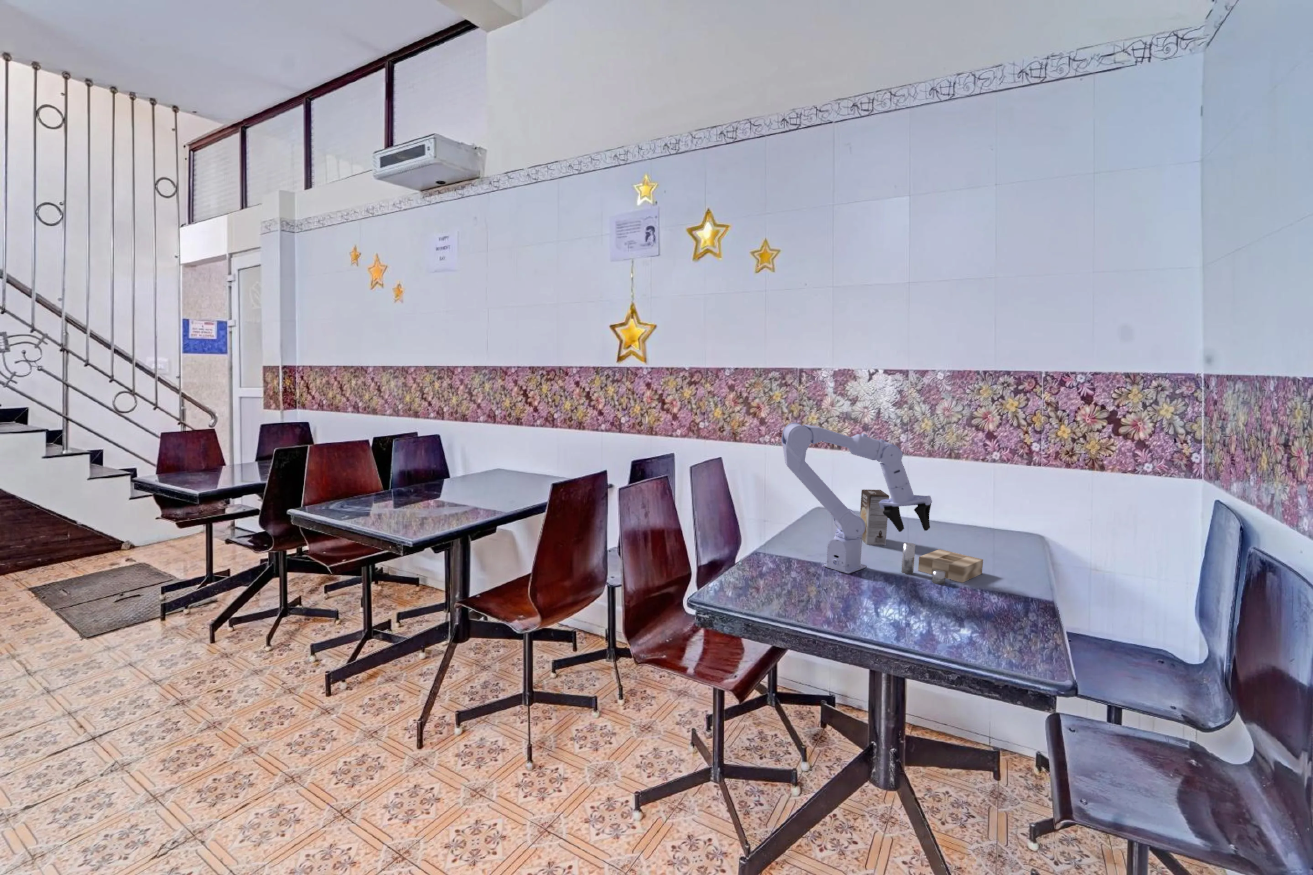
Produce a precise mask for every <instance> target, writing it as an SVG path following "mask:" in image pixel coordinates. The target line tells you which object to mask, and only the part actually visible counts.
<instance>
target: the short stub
mask: <svg viewBox="0 0 1313 875" xmlns="http://www.w3.org/2000/svg"><path fill="white" fill-rule="evenodd" d="M931 575H932V574H931ZM931 577H932V578H931V583H933V584H935V585H940V586H941V585H946V584H945V582H946V578H945V572H944V571H942V570H933V575H932V576H931Z"/></svg>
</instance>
